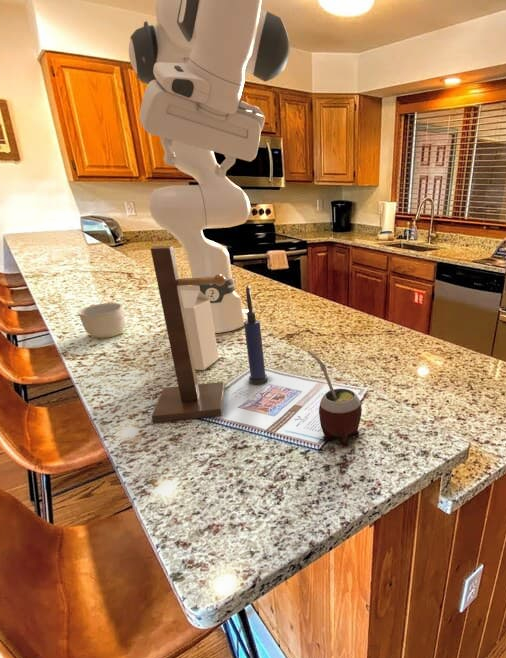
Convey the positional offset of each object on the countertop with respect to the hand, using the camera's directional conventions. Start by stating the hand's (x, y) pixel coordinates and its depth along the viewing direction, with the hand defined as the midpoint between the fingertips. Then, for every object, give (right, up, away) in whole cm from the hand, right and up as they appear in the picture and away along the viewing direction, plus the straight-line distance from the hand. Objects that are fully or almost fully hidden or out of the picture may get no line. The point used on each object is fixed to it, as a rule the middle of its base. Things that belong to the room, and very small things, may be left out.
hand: (195, 170), depth 79 cm
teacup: (-42, -26, +44) cm, 67 cm away
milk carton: (-8, -36, +23) cm, 43 cm away
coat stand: (-1, -44, +5) cm, 44 cm away
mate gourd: (+27, -49, -6) cm, 56 cm away
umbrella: (+9, -39, +14) cm, 43 cm away
